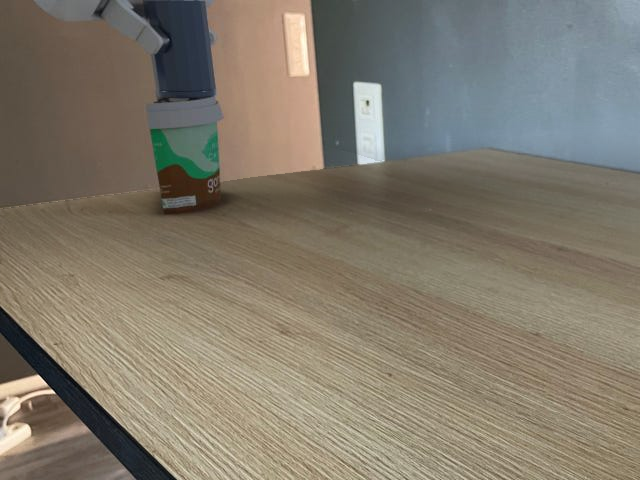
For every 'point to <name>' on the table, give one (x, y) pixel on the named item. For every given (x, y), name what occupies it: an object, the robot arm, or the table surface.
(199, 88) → the cup
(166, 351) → the table surface
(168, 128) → the food container
